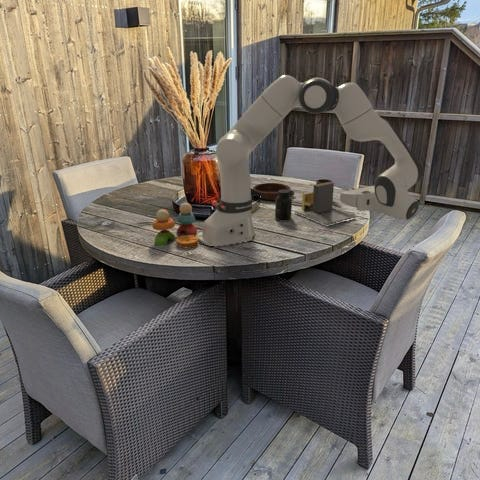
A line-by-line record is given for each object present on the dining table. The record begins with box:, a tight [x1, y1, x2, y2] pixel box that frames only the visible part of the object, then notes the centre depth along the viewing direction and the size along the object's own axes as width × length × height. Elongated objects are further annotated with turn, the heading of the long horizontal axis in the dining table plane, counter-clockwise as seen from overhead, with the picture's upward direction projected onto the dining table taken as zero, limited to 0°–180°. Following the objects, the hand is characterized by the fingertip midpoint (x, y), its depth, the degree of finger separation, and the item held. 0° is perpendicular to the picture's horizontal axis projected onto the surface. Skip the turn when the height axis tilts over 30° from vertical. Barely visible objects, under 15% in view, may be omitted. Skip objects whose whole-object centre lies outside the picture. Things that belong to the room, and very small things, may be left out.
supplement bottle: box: [274, 190, 293, 221], centre depth 184 cm, size 7×7×12 cm
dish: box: [252, 182, 295, 201], centre depth 214 cm, size 18×22×5 cm
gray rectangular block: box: [309, 181, 335, 214], centre depth 188 cm, size 9×6×12 cm
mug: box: [315, 178, 333, 185], centre depth 205 cm, size 12×8×9 cm, turn 2°
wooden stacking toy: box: [152, 202, 199, 248], centre depth 164 cm, size 18×17×12 cm
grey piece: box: [294, 191, 356, 225], centre depth 186 cm, size 16×20×8 cm
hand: (348, 189), depth 172 cm, fingers closed
